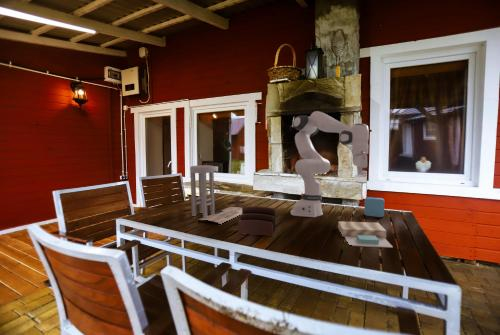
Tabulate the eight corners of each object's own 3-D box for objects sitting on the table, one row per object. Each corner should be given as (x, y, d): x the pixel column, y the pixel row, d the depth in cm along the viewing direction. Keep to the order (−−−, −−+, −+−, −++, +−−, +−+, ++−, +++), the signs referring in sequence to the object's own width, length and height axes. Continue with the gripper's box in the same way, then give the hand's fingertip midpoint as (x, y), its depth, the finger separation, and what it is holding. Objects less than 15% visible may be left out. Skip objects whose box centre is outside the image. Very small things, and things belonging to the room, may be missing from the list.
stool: (187, 217, 185) (185, 166, 182) (200, 211, 199) (199, 164, 196) (206, 219, 179) (204, 167, 175) (218, 213, 193) (217, 165, 189)
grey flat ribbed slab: (228, 209, 206) (228, 206, 206) (250, 212, 197) (250, 208, 197) (197, 222, 174) (197, 218, 174) (222, 226, 165) (222, 222, 165)
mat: (349, 245, 131) (349, 244, 131) (344, 237, 143) (344, 236, 143) (392, 247, 128) (392, 246, 128) (384, 238, 140) (384, 238, 140)
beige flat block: (342, 236, 144) (342, 229, 144) (338, 227, 158) (338, 221, 158) (386, 238, 140) (386, 230, 140) (378, 229, 154) (378, 222, 154)
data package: (383, 215, 182) (384, 198, 181) (383, 217, 178) (384, 199, 177) (364, 213, 187) (365, 196, 186) (364, 215, 183) (364, 198, 182)
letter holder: (242, 228, 159) (242, 205, 158) (275, 231, 155) (275, 207, 153) (237, 234, 150) (237, 209, 148) (273, 237, 145) (272, 211, 144)
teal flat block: (356, 235, 139) (356, 238, 139) (359, 239, 133) (359, 243, 133) (375, 235, 137) (375, 239, 138) (379, 240, 131) (378, 244, 132)
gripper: (370, 151, 148) (370, 176, 150) (361, 150, 169) (361, 172, 170) (358, 151, 150) (358, 176, 151) (351, 150, 170) (350, 172, 171)
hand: (359, 174), depth 161 cm, fingers closed
